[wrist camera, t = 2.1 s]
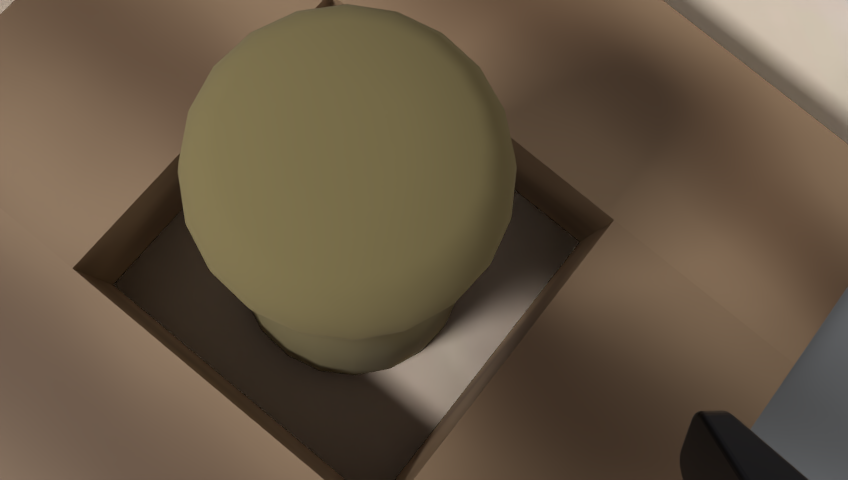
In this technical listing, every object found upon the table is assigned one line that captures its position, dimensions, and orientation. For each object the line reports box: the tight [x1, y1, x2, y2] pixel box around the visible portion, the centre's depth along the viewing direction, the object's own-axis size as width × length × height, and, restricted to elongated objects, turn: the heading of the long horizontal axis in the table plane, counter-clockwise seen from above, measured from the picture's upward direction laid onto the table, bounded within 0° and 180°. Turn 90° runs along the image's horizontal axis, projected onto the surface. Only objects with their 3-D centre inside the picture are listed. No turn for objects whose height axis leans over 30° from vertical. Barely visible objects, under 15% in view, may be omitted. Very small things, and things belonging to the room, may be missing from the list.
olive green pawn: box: [178, 4, 517, 375], centre depth 16 cm, size 6×6×11 cm
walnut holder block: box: [0, 0, 848, 480], centre depth 20 cm, size 20×20×3 cm
